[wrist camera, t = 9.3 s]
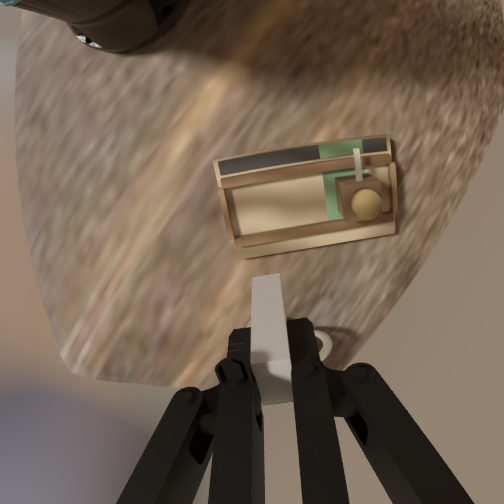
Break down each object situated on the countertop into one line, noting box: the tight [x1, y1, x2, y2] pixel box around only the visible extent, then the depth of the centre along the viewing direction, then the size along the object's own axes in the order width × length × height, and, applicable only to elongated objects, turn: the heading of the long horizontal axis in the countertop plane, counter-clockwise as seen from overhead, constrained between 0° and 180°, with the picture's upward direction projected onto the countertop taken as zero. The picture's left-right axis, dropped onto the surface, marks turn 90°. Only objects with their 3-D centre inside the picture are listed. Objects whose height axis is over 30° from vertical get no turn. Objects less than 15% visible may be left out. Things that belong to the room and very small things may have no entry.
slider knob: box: [334, 148, 383, 223], centre depth 31 cm, size 7×4×6 cm, turn 11°
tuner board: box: [213, 135, 398, 260], centre depth 35 cm, size 12×20×2 cm, turn 101°
